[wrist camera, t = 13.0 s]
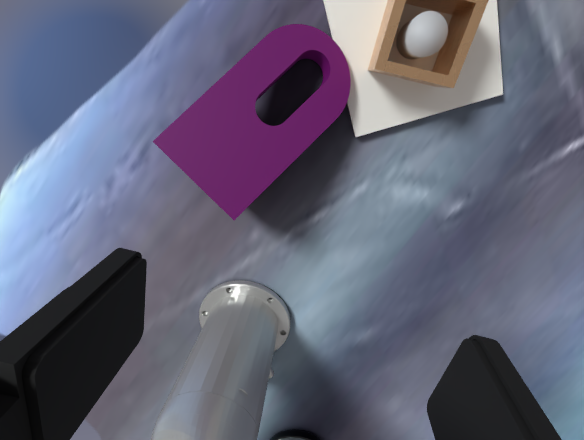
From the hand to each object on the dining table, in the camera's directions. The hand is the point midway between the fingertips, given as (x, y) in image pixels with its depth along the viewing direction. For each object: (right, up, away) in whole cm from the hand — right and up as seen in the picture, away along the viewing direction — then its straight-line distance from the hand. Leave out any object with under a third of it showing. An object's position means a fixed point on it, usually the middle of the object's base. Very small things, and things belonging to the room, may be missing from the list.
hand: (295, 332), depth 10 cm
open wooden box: (+11, +20, +20) cm, 30 cm away
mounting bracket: (-2, +15, +25) cm, 29 cm away
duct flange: (+11, +20, +21) cm, 31 cm away
